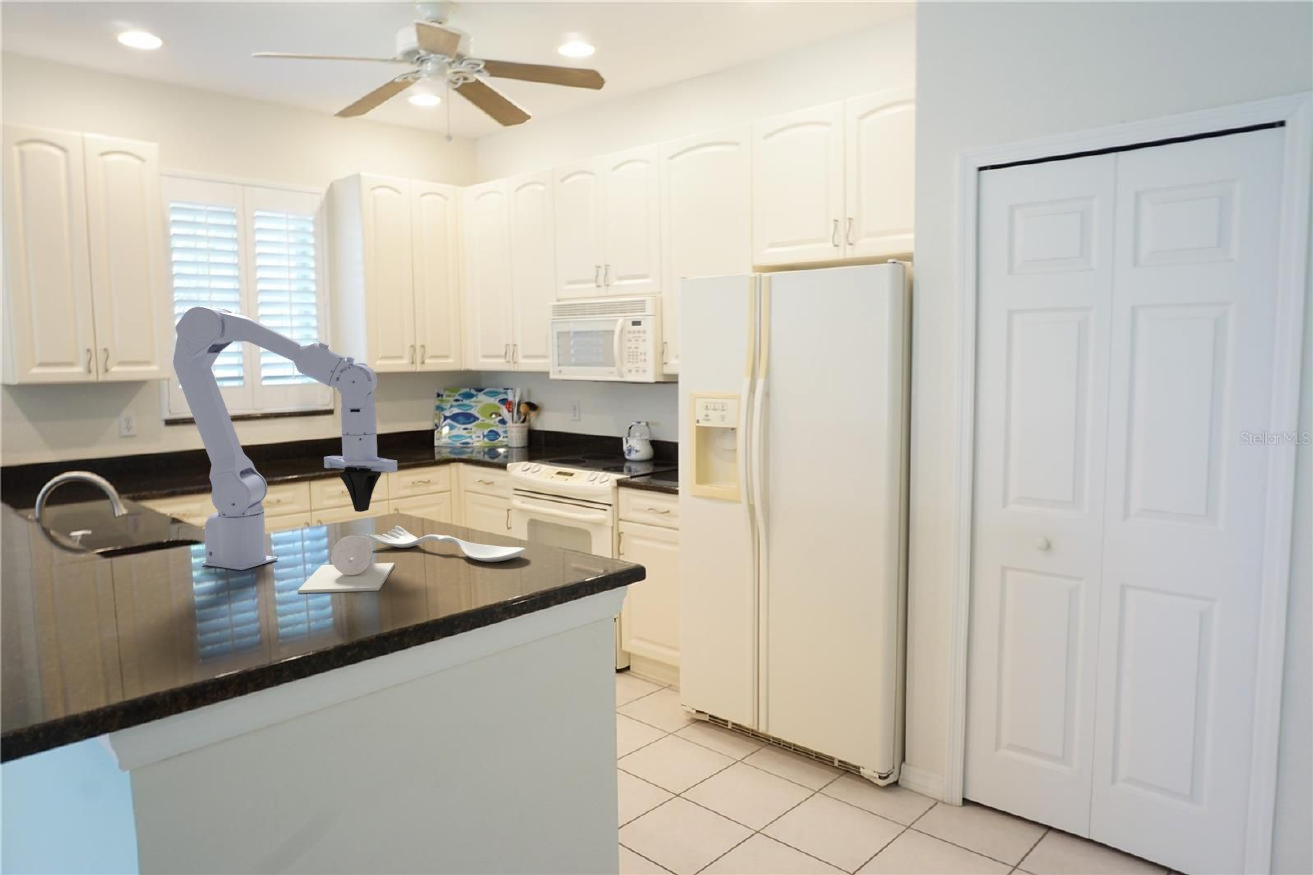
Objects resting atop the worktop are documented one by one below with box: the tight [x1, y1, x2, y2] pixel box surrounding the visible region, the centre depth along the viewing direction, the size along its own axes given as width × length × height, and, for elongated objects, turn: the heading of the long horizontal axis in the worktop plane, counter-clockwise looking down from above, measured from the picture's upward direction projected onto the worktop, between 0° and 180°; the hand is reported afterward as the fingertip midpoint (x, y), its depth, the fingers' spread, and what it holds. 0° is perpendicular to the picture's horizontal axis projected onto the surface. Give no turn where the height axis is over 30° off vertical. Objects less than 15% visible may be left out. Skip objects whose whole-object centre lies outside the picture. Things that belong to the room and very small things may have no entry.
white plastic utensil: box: [364, 525, 527, 563], centre depth 157 cm, size 9×32×4 cm, turn 65°
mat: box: [297, 562, 395, 594], centre depth 140 cm, size 15×12×1 cm
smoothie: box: [330, 535, 374, 575], centre depth 142 cm, size 6×6×14 cm
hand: (361, 510), depth 151 cm, fingers closed
